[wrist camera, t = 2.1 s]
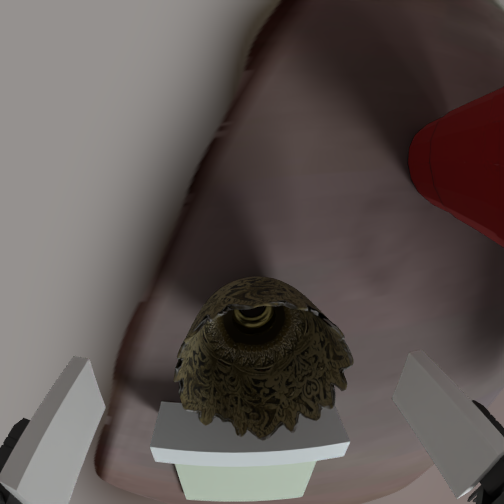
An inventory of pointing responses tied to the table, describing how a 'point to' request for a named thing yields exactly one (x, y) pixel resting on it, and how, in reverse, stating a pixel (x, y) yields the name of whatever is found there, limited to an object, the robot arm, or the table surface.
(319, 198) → the table surface
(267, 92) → the table surface
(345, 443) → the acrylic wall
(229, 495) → the green pad
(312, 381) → the cup
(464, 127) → the plastic cup
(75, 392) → the robot arm
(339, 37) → the table surface
